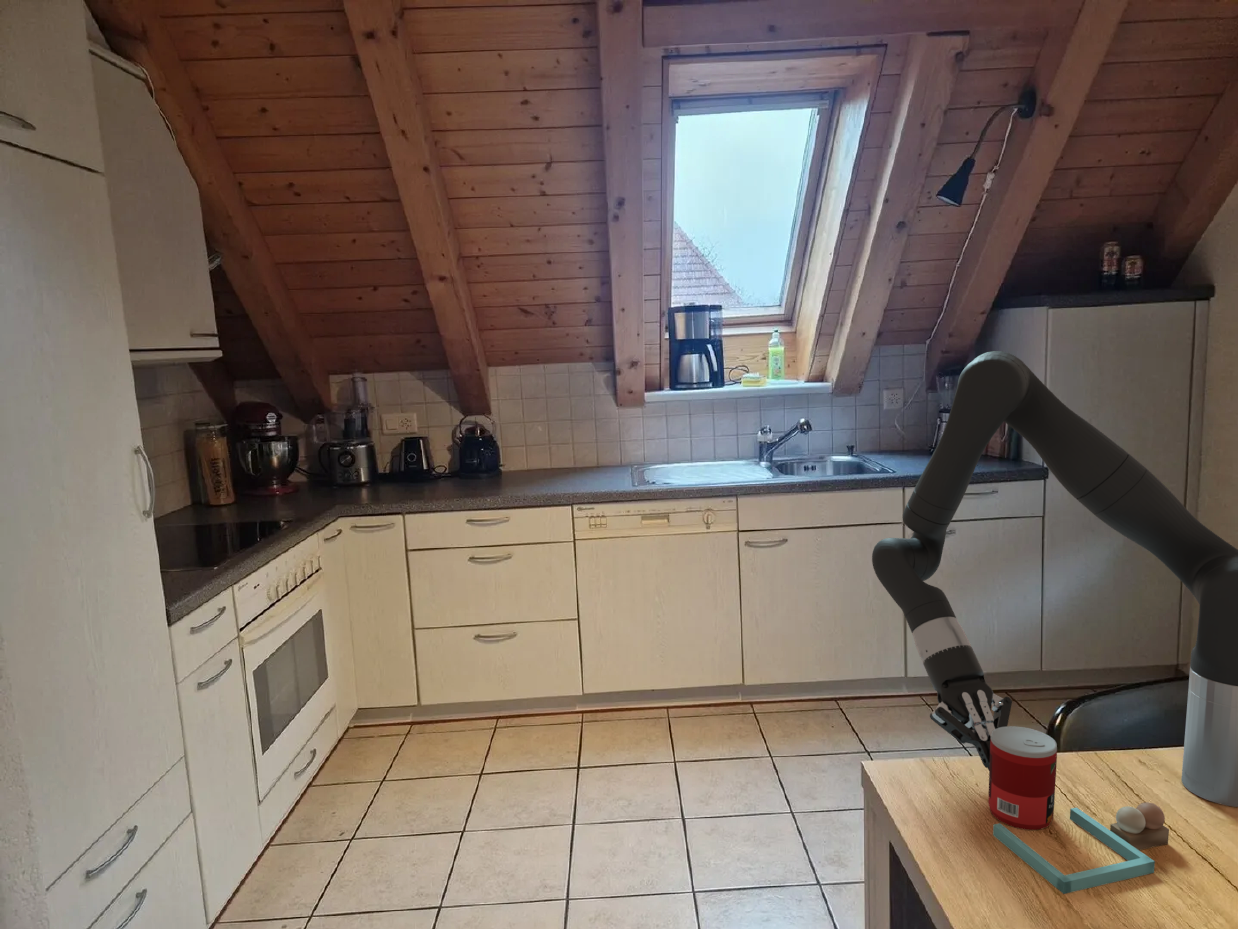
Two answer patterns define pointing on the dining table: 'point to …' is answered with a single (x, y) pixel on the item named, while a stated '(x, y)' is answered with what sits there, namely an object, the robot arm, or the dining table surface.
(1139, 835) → the egg holder with eggs
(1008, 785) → the canned food
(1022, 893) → the dining table surface
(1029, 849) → the teal bay
